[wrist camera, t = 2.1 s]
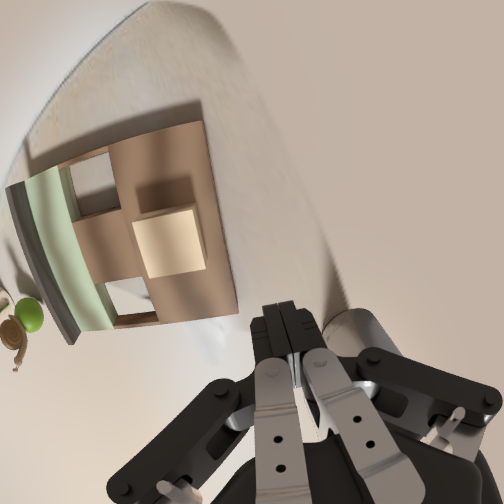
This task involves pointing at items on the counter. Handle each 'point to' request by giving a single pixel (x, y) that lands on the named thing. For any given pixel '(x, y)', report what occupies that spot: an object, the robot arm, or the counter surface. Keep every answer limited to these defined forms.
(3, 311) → the beer glass
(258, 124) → the counter surface
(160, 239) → the block
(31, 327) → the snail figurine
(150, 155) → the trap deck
